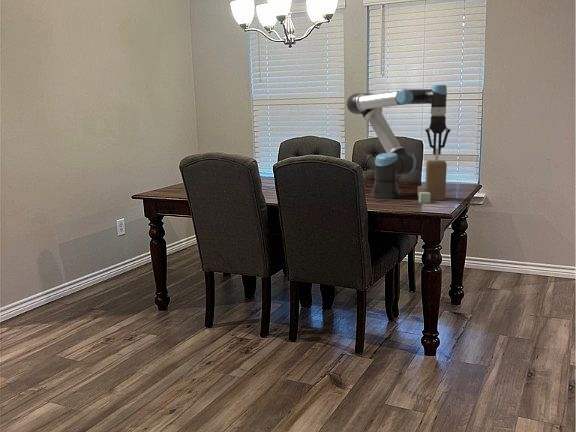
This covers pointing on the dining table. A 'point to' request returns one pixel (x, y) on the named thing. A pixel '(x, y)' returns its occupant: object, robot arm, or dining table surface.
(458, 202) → the dining table surface
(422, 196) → the sage cube
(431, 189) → the wooden block
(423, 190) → the cream cube
